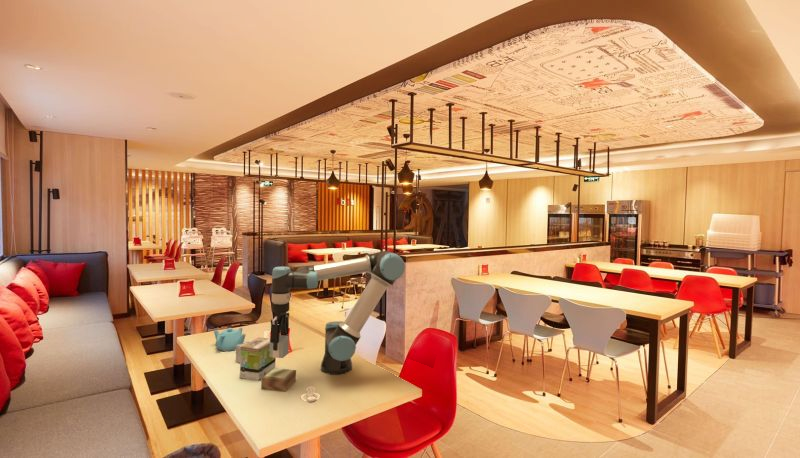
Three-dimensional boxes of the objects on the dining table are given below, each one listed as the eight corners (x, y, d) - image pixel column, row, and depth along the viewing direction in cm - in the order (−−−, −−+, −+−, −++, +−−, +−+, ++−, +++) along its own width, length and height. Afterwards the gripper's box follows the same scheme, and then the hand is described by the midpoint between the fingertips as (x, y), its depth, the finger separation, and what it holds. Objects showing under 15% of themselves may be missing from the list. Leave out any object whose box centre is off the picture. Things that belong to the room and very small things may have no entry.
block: (275, 352, 179) (276, 334, 179) (288, 353, 179) (288, 335, 178) (269, 356, 174) (269, 338, 173) (282, 358, 173) (283, 339, 172)
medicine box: (241, 364, 199) (241, 346, 199) (235, 361, 201) (235, 344, 201) (254, 359, 206) (254, 342, 205) (248, 357, 208) (249, 340, 208)
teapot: (213, 345, 225) (213, 326, 224) (242, 341, 232) (242, 323, 232) (215, 354, 212) (215, 333, 211) (245, 350, 219) (246, 330, 218)
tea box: (259, 380, 180) (259, 348, 180) (239, 378, 182) (239, 346, 182) (276, 368, 195) (276, 338, 194) (257, 366, 197) (257, 336, 196)
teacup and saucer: (315, 404, 161) (315, 394, 161) (296, 402, 162) (296, 392, 162) (323, 394, 170) (323, 385, 169) (305, 392, 171) (305, 383, 171)
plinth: (295, 381, 181) (296, 369, 181) (285, 391, 170) (285, 379, 170) (272, 378, 183) (273, 367, 183) (261, 389, 172) (261, 376, 172)
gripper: (279, 307, 165) (277, 363, 166) (297, 298, 184) (296, 348, 185) (261, 306, 166) (260, 361, 167) (281, 297, 185) (280, 346, 186)
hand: (279, 354), depth 176 cm, fingers closed on block, 6 cm apart
